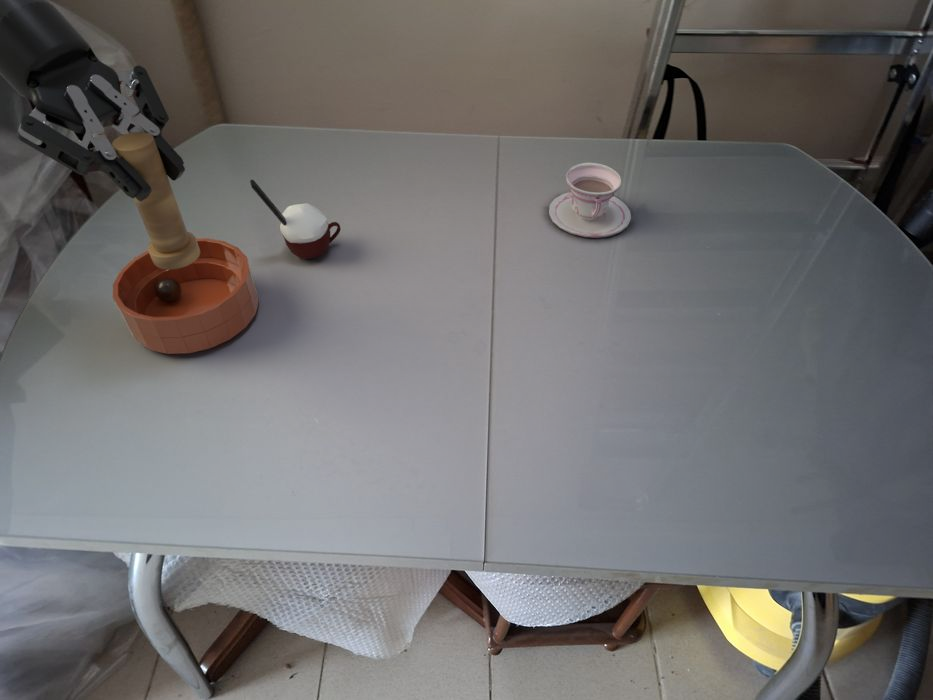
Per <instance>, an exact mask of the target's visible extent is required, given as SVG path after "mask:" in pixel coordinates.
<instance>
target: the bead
mask: <svg viewBox="0 0 933 700" xmlns="http://www.w3.org/2000/svg"><path fill="white" fill-rule="evenodd" d="M155 294H156V296H157V297H158V298H159V299H160V300H161V301H163V302H174V301H176V300H177V299H178V298H179V297H180V295H181V286H180V284H179V283H178V282H177V281H176V280H174V279H171V278H164V279H161V280H160V281H158V282H157V284H156V286H155Z"/></svg>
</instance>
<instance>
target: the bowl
mask: <svg viewBox="0 0 933 700" xmlns="http://www.w3.org/2000/svg"><path fill="white" fill-rule="evenodd" d="M196 240H197V243H198V246H199V248H200V255H199V257H198V258H197V259H196V260H195V261H194V262H193V263H191V264H190V265H188V266H185V267H182V268H179V269H171V270H169V269H161V268H159V267H157V266H156V265H155V264H154V263H153V261H152V259H151V256H150V254H149V251H148V250H146V251H144V252H143V253H141V254H139V255H138V256H136V257H134V258H132V259H131V260H130V261H129V262H128V263H127V264H126V265H125V266H124V267H122V269H121V270H120V271H119V272H118V274H117V276H116V278H115V279H114V282H113V284H112V299H113V301H114V303H115V306H116V308H117V309H118V311H119V313H120V315H121V317H122V320H123V321H124V323H125V325H126V327H127V330H128V331H129V333H130V334H131V336H132V338H133V339H134V341H135V342H136V343H138V344H139V345H140V346H142V347H144V348H146V349H147V350H149V351H153V352H158V353H161V354H162V353H163V354H166V355H168V354H169V355H172V354H174V355H176V354H192V353H197V352H201V351H204V350H209V349H213V348H214V347H216V346H219V345H221V344H223V343H225V342H228V341H230V340H232V339H233V338H234V337H236V335H238V334H239V333H240V332H242V331H243V330H244V329H246V328H247V326H248V325H249V324H250V322H251V321H252V320H253V319H254V317H256V315H257V309H258V305H259V302H260V299H259V295H258V290H257V288H256V283H255V281H254V277H253V273H252V270H251V266H250V264H249V263H250V262H249V259H248V257H247V256H246V254H244V253H243V252H242V250H241V249H240V248H239V247H237V246H236V245H233V244H231V243H229V242H228V241H225V240H220V239H214V238H209V237H208V238H207V237H205V238H203V237H200V238H198V237H196ZM164 278H171V279H174V280H176V281H177V282H178V283H179V284H180V286H181V295H180V297H179V298H178V299H177V300H176V301H174V302H163V301H161V300H160V299H159V298H158V297H157V296H156V294H155V286H156V284H157V282H158V281H160V280H161V279H164Z"/></svg>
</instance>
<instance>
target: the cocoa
mask: <svg viewBox="0 0 933 700" xmlns="http://www.w3.org/2000/svg"><path fill="white" fill-rule="evenodd" d="M249 183H250V186H251V189H252V190H253V191H254V192H255V193H256V194H257V196H258V197H259V198H260V199H261V200H262V202H263V203H264V204H265V205H266V206H267V207H268V209H269V210H270V211H271V212H272V213H273V215H274V216H275V217H276V219H278V221H279V222H280V226H279V230H280V232H281V234H282V237H283V240H284V242H285V245H286V246H287V248H288V250H289V251H290V253H292V254H293V255H294V256H296V257H298V258H300V259H305V260H309V259H315V258H318V257H320V256H322V255H323V254H324V253H325V252H327V250H328V248H329V246H330V244H331V243H332V242H333V241H334V240H335V239H336V238H337V237H338V236H339V234H340V232H341V225H340V224H339V223H338V222H337V221H332V222H330V223H329V222H328V220H327V217H326V215H325V213H324V212H323V211H321V210H319V209H318V208H317V207H315V206H314V205H312V204H311V203H306V202H305V203H298V204H293V205H292V204H291V205H288V206H287V207H286V209H284V211H283V212H281V211H280V210H279V208H278V207H277V206H276V205H275V203H273V201H272V200H271V199H270V198H269V197H268V195H267V194H266V193H265V192H264V191H263V190H262V188H261V187H260V186H259V185H258V184H257V182H256V181H255V180H254V179H250V181H249ZM333 227H336V230H335V232H334V233H332V235H331V229H332V228H333Z"/></svg>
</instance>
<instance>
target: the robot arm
mask: <svg viewBox="0 0 933 700" xmlns="http://www.w3.org/2000/svg"><path fill="white" fill-rule="evenodd" d="M0 76H1V77H2V78H3V79H4V80H5V81H6V82H7V83H8V84H9V85H10V86H11V87H12V88H13V89H14V90H15V91H16V93H18V94H19V95H20V96H21V97H23V98H25V99H26V100H27V102H28V104H29V107H30V110H31V112H30V114H29V115H27V114H26V115H23V116H22V117H21V118H20V123H19V126H18V129H17V133H16V136H17V139H18V140H19V141H21V142H22V143H24V144H26V145H27V146H29V147H31V148H33V149H35V150H36V151H37V152H39V153H41V154H42V155H45V156H46V157H48V158H50V159H52V160H54V161H55V162H57V163H59V164H60V165H62V166H64V167H65V168H67V169H69V170H71V171H73V172H74V173H76V174H78V175H80V176H87V175H88V174H89V173H93V172H102V173H104V174H105V175H107V177H109V179H111V181H112V182H113V183H114V184H115V185H116V186H117V187H118V188H119V189H120V190H121V191H122V192H123V193H124V194H125V195H126V196H128V197H129V198H131V199H134V198H136V199H137V200H139V201H143V200H144V199H146V198H147V197H148V196H149V194H150V193H151V191H152V189H151V187H150V186H149V184H148V183H147V182H146V181H145V180H144V179H143V178H142V177H141V176H140V175H139V174H138V173H137V172H136V171H135V170H134V169H133V167H132V166H131V165H130V164H129V163H128V162H127V161H126V160H125V159H124V158H123V157H120V158H118V157H117V153H116V151H115V150H114V148H113V146H112V143H111V142H110V140H109V139H108V137H107V135H106V129H105V128H106V127H107V128H108V127H112V128H113V129H114V130H115V131H117V132H118V133H119V134H121V135H125V134H128V133H133V132H145V133H149V134H151V135H152V136H153V137H154V140H155V143H156V146H157V148H158V151H159V154H160V157H161V160H162V162H163V165H164V168H165V171H166V174H167V176H168V179H169V180H172V181H174V182H175V181H177V180H179V179H180V178H181V177H182V175H184V173H185V172H186V171H185V170H186V168H185V166H184V165H185V161H184V159H183V158H182V157H181V156H180V154H179V153H178V152H177V151H176V150H175V149H174V148H173V147H172V145H170V143H169V142H168V141H167V140H166V139H165V138H164V137H163V135H162V132H164V131H163V130H164V129H165V126H166V125H167V124H168V122H169V120H170V117H169V115H168V112H167V111H166V109H165V106H164V104H163V102H162V100H161V98H160V96H159V94H158V92H157V90H156V88H155V86H154V84H153V80H152V79H151V78H150V75H149V73H148V71H147V69H146V68H145V67H143V66H142V65H134V67H133V68H132V70H130V71H116V70H115V69H114V68H113V67H112V66H109V65H107V64H106V63H104V62H102V61H101V59H99V58H98V56H96V54H95V52H94V50H93V48H92V47H91V45H90V44H89V43H88V41H87V40H85V38H84V37H83V36H82V35H81V33H79V32H78V31H77V30H76V28H75V27H74V26H73V25H72V24H71V22H69V21H68V19H66V17H65V16H64V15H63V14H62V13H61V12H60V11H59V10H58V9H57V7H56V6H55V5H54V4H53V3H52V2H51V1H50V0H0ZM121 88H122V89H123V90H124V91H125V92H126V95H127V96H128V97H129V98H133V100H134V102H135V104H134V103H133V101H130V100H129V99H128V98H127V97H126V96H124V95H123V94H122V89H121ZM121 115H122V116H121ZM54 125H55V126H58V127H60V128H63V129H66V130H68V131H70V134H71V135H72V136H73V138H74V139H75V141H74V140H73V139H71V138H69V137H68V136H66V135H64V134H62V133H61V132H59V131H58V130H55V127H54Z"/></svg>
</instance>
